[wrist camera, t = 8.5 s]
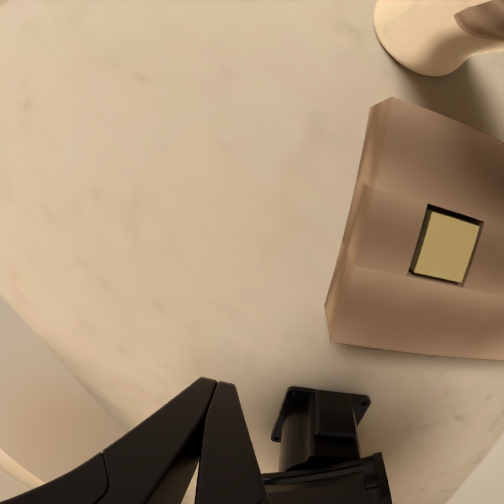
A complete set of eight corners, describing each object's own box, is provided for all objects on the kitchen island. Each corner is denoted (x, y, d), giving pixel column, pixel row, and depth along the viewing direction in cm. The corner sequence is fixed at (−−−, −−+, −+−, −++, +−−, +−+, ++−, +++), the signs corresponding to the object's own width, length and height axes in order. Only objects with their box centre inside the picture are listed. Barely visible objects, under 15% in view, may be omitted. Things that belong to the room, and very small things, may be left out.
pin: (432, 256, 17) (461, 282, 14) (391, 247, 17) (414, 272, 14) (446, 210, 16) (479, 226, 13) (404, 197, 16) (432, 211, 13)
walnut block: (507, 333, 18) (531, 360, 15) (324, 305, 19) (330, 341, 15) (555, 186, 14) (590, 197, 11) (370, 107, 15) (391, 96, 12)
